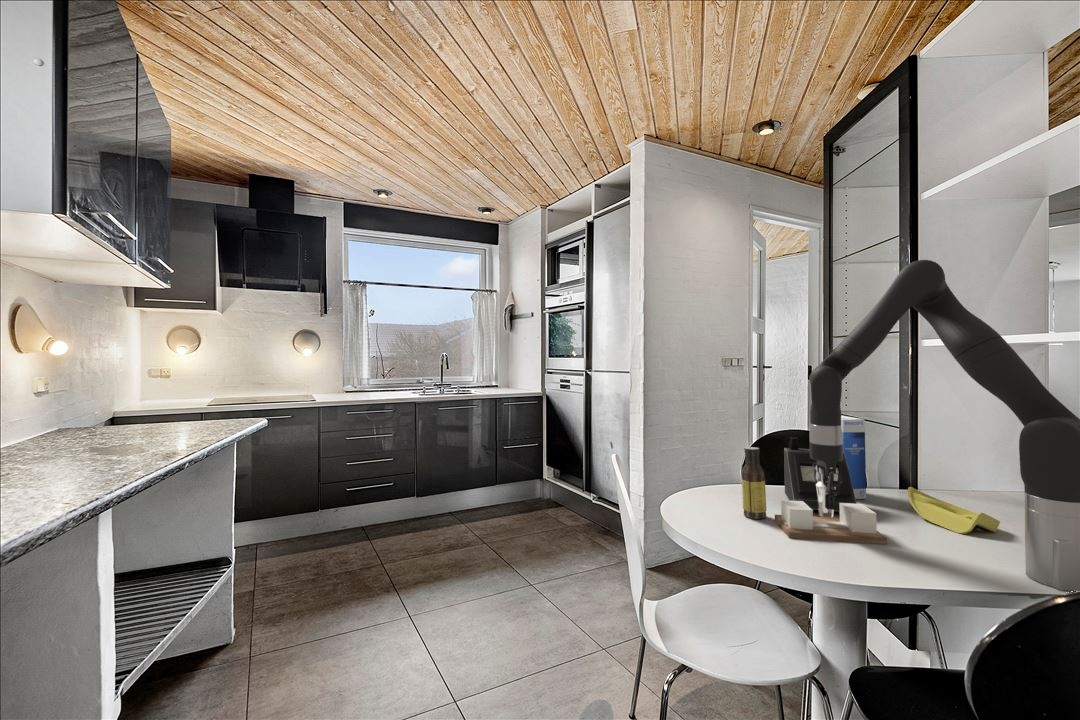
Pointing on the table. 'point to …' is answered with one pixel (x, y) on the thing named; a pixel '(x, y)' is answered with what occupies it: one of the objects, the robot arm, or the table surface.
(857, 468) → the string lights box
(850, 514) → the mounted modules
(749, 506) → the sauce bottle
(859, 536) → the rail board
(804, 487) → the voltmeter
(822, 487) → the milkshake
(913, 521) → the table surface
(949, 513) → the plastic component
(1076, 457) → the robot arm
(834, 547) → the table surface
